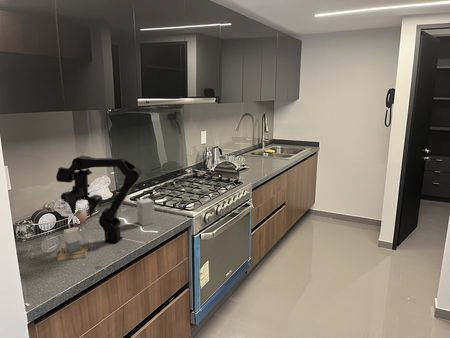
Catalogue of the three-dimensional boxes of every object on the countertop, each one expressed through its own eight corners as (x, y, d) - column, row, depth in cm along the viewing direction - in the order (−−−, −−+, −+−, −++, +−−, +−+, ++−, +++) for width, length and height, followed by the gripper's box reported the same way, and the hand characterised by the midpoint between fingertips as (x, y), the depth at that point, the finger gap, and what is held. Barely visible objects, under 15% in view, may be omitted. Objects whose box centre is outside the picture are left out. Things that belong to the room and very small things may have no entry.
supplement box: (155, 223, 185) (154, 201, 183) (142, 226, 181) (140, 203, 179) (150, 219, 191) (148, 197, 189) (137, 222, 187) (136, 200, 185)
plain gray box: (76, 247, 154) (74, 227, 152) (80, 250, 151) (78, 229, 149) (66, 251, 151) (63, 229, 149) (70, 254, 148) (67, 232, 145)
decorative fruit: (91, 223, 186) (89, 206, 184) (77, 228, 179) (75, 210, 177) (81, 220, 191) (79, 203, 189) (67, 225, 184) (65, 207, 182)
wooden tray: (88, 246, 158) (87, 242, 157) (85, 257, 147) (85, 252, 147) (62, 249, 155) (61, 245, 154) (57, 260, 144) (57, 256, 144)
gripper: (51, 184, 152) (53, 217, 156) (87, 190, 148) (88, 223, 152) (68, 179, 163) (69, 210, 166) (102, 184, 159) (103, 215, 162)
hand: (82, 214), depth 161 cm, fingers open, 9 cm apart
